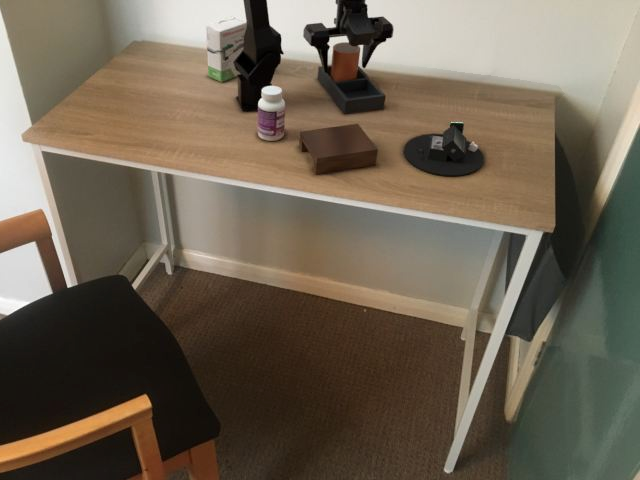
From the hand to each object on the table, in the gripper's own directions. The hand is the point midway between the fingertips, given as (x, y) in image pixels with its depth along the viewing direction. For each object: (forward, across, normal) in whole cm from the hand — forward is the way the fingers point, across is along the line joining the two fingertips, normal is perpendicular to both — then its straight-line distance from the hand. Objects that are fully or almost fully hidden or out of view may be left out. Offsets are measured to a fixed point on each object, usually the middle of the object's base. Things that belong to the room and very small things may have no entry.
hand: (344, 69), depth 137 cm
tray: (+4, 0, -4) cm, 6 cm away
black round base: (+4, +8, -33) cm, 34 cm away
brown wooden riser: (+4, -12, -28) cm, 31 cm away
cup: (+3, 0, 0) cm, 3 cm away
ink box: (+4, -24, +13) cm, 28 cm away
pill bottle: (+4, -22, -17) cm, 28 cm away
